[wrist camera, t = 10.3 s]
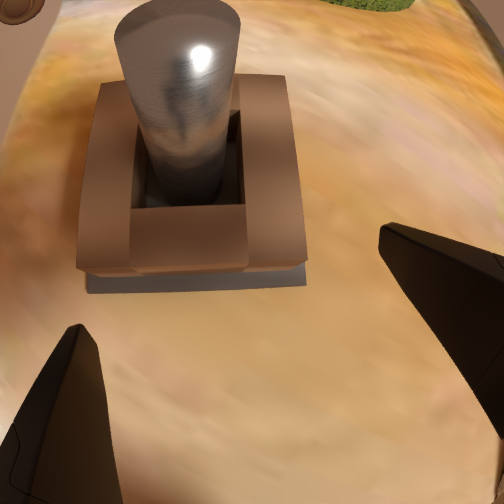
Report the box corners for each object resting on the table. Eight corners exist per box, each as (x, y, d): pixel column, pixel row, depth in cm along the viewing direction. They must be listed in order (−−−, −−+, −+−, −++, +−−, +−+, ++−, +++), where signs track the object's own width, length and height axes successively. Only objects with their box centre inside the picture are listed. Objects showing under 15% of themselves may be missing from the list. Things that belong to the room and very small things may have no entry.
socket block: (304, 285, 20) (327, 277, 16) (89, 293, 19) (60, 287, 14) (284, 103, 23) (297, 66, 19) (106, 110, 21) (90, 75, 17)
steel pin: (223, 211, 20) (243, 62, 8) (160, 213, 20) (102, 71, 7) (221, 156, 21) (238, -7, 8) (162, 158, 21) (126, -1, 8)
